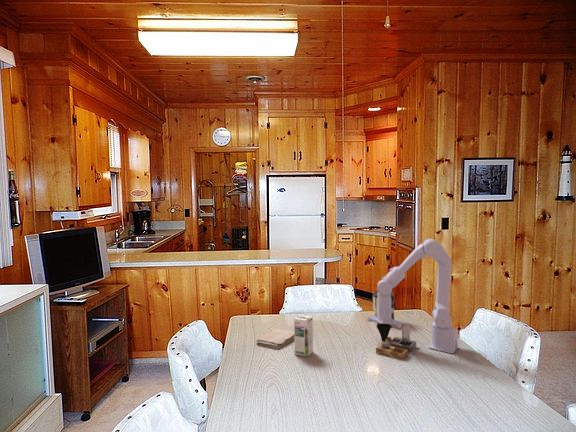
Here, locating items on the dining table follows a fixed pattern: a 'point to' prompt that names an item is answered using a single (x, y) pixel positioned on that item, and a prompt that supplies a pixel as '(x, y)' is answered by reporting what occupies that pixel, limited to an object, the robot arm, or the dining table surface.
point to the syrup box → (303, 335)
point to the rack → (391, 351)
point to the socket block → (400, 345)
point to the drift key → (390, 340)
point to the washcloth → (276, 338)
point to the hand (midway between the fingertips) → (384, 341)
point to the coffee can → (376, 305)
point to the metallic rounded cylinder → (406, 335)
